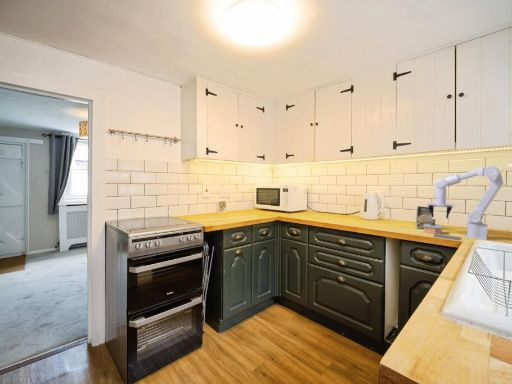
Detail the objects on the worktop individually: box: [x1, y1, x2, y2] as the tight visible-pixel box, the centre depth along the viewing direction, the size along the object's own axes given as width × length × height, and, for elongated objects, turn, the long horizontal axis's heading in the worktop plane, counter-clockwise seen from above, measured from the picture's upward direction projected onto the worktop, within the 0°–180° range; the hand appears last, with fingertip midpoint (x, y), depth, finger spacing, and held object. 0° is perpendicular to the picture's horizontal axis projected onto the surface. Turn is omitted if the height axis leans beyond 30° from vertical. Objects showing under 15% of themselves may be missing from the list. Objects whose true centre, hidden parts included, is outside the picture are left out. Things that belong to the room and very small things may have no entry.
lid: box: [423, 218, 444, 229], centre depth 165 cm, size 10×10×5 cm
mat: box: [432, 234, 462, 241], centre depth 151 cm, size 13×12×1 cm
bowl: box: [423, 227, 442, 235], centre depth 165 cm, size 9×9×4 cm
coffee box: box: [415, 206, 433, 230], centre depth 181 cm, size 9×6×16 cm
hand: (439, 217), depth 165 cm, fingers open, 7 cm apart
